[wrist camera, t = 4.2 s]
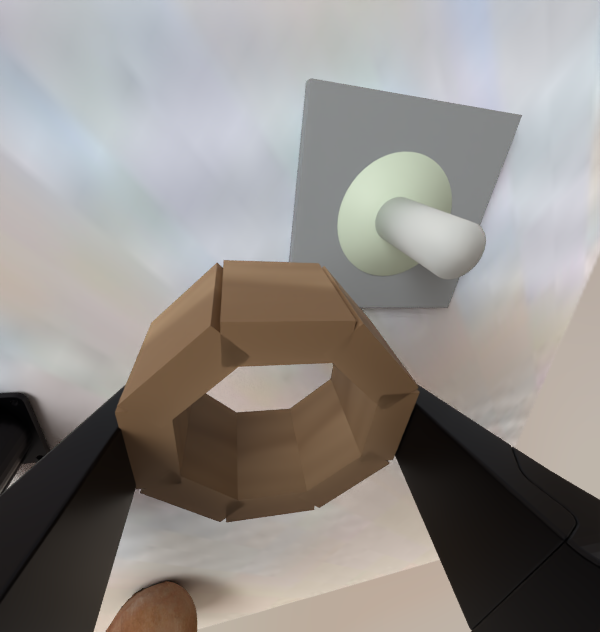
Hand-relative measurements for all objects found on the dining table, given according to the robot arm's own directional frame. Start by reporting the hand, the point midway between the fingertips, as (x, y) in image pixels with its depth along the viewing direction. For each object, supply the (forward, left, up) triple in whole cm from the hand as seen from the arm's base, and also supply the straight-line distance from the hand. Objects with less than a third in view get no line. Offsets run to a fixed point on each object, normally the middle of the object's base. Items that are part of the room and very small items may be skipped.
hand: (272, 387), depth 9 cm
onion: (-42, +10, -12) cm, 45 cm away
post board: (+3, -9, -12) cm, 15 cm away
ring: (0, 0, -1) cm, 1 cm away
